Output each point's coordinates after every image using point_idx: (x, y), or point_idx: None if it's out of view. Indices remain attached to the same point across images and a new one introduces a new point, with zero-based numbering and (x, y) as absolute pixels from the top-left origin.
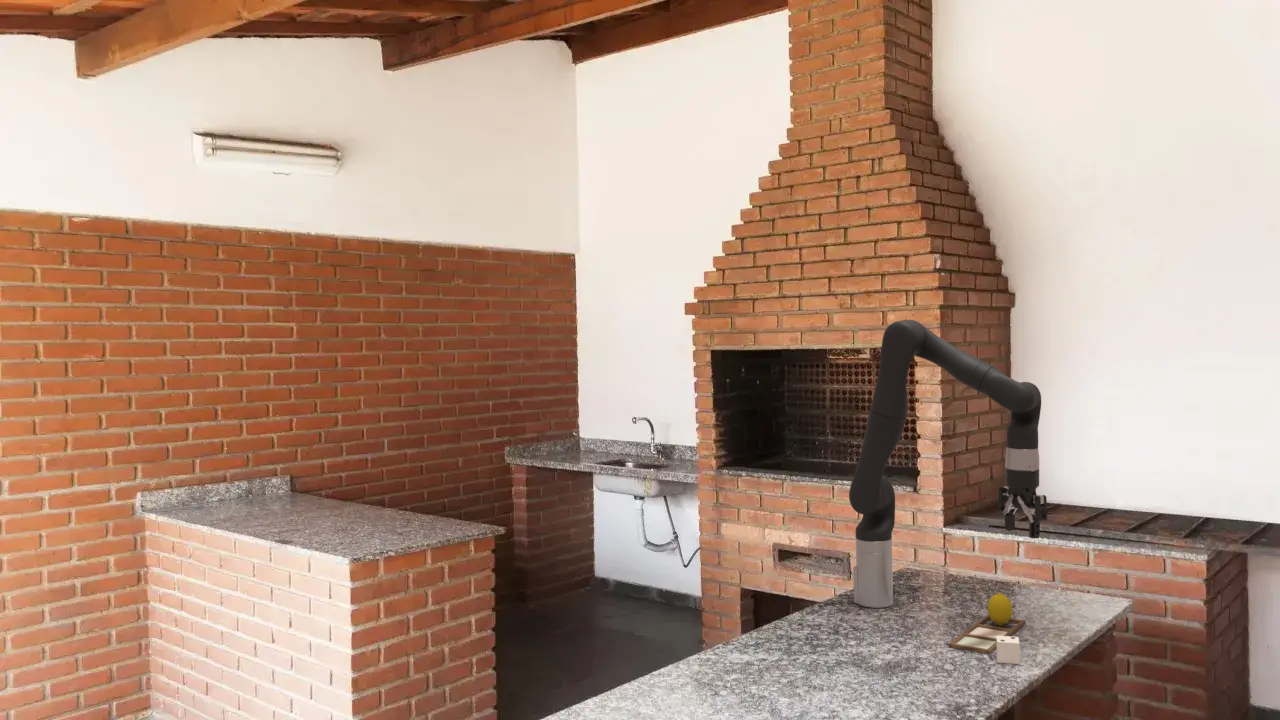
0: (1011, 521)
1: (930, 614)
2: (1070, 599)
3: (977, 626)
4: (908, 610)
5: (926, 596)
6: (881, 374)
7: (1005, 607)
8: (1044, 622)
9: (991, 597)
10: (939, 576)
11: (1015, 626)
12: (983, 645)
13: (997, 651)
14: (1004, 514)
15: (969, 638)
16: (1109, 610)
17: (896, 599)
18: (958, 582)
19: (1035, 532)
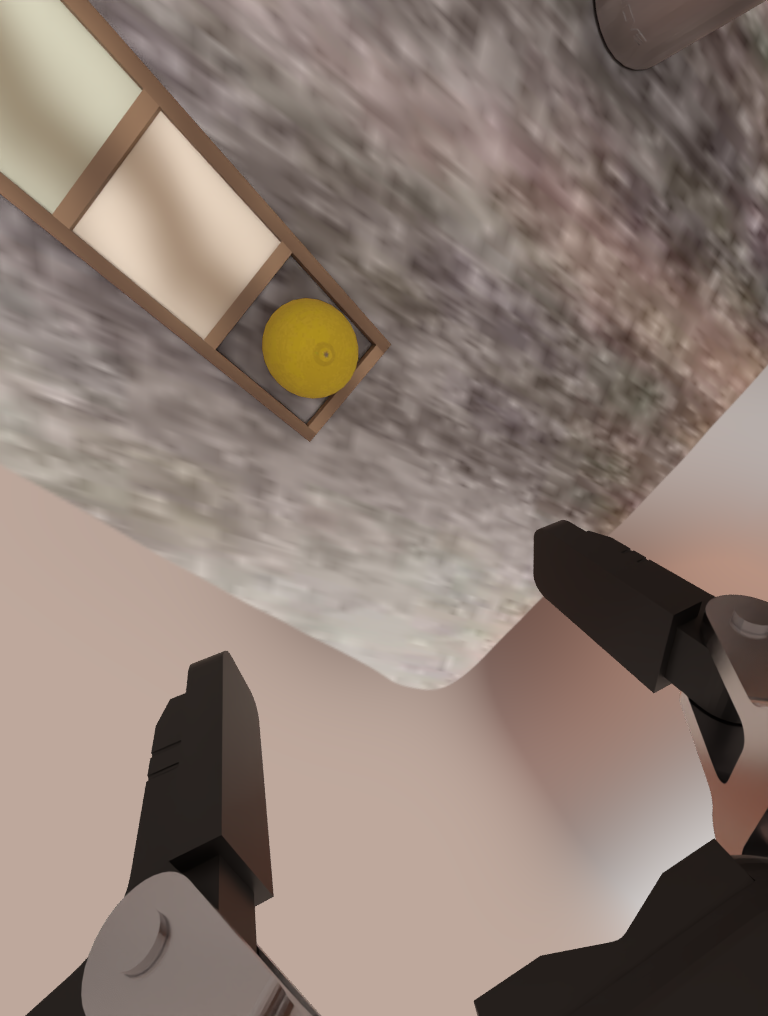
0: (600, 612)
1: (470, 143)
2: (472, 609)
3: (279, 239)
4: (535, 75)
5: (622, 255)
6: None
7: (268, 354)
8: (315, 498)
9: (331, 318)
10: (717, 388)
11: (248, 380)
12: None
13: None
14: (721, 598)
15: (109, 94)
16: (380, 662)
17: (643, 117)
18: (665, 414)
19: (153, 755)
